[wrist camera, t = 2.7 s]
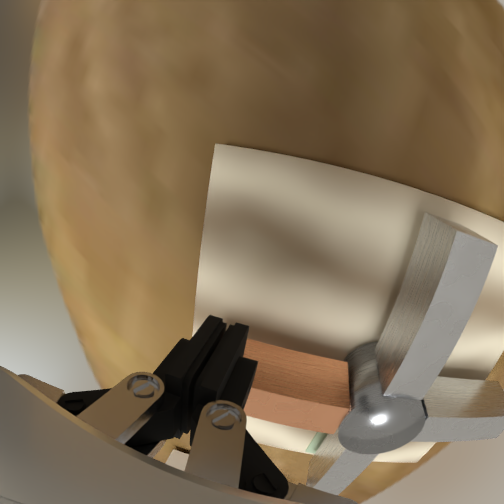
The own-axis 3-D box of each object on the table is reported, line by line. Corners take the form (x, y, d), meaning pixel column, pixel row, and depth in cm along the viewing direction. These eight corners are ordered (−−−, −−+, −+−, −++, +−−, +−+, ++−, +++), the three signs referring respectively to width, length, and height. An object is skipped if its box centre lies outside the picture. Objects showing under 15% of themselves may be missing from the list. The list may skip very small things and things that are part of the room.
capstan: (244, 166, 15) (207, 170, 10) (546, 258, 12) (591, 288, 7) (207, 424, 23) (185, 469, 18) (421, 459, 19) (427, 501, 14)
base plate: (223, 144, 17) (214, 143, 16) (537, 238, 13) (550, 244, 12) (193, 410, 25) (187, 422, 24) (414, 451, 22) (416, 463, 20)
